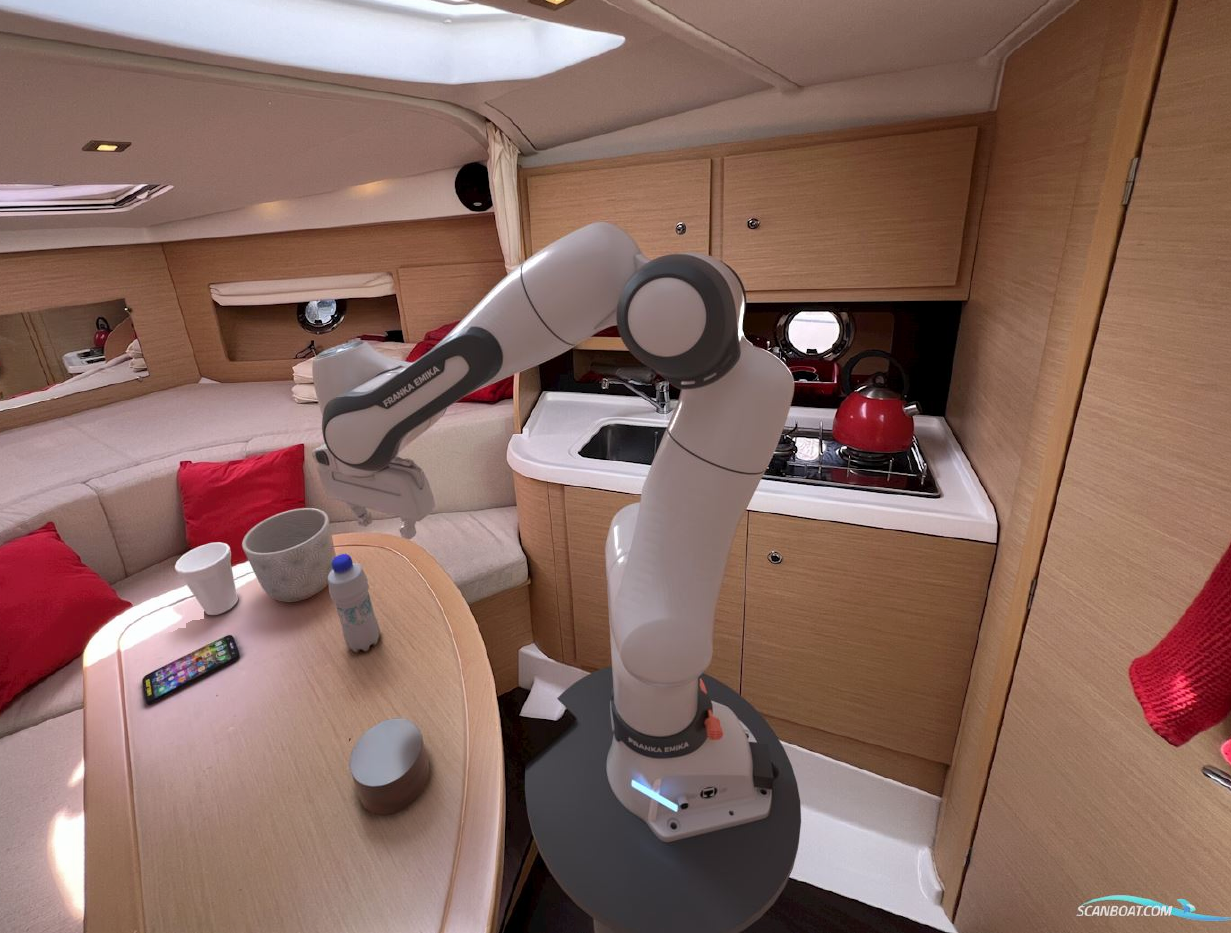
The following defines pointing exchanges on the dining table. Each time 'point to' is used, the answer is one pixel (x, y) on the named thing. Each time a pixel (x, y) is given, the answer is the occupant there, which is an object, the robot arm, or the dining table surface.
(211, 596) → the cup
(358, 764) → the pedestal
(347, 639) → the bottle
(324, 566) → the planter
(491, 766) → the dining table surface
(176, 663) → the smartphone
